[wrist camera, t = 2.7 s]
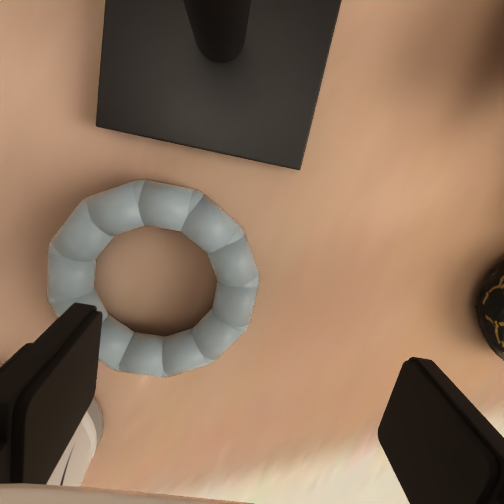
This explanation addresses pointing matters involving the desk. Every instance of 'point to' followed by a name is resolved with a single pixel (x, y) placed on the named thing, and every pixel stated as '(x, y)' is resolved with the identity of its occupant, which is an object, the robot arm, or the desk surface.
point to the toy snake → (492, 309)
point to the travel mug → (79, 449)
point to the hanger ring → (168, 217)
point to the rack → (216, 73)
